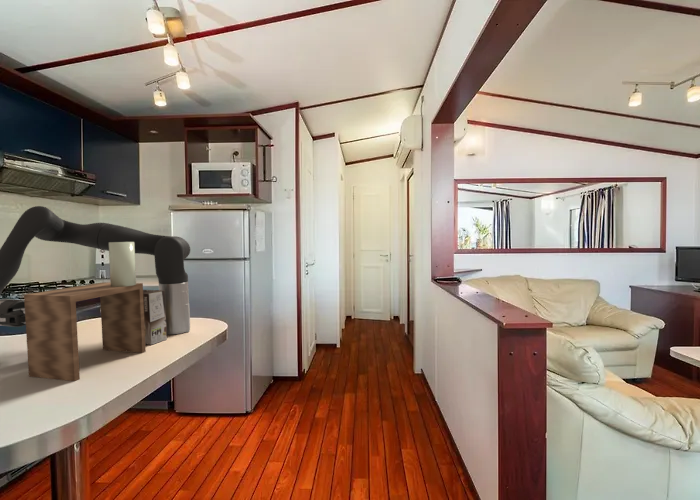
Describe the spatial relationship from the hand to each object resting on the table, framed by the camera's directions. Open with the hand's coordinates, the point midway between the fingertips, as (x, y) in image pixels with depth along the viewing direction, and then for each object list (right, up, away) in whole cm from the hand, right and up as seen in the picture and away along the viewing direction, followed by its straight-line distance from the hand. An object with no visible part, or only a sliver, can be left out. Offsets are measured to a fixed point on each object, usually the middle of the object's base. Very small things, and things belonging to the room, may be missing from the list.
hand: (55, 315), depth 97 cm
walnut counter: (+12, -12, -2) cm, 17 cm away
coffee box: (+16, -11, +17) cm, 26 cm away
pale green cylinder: (+17, +8, +2) cm, 19 cm away
